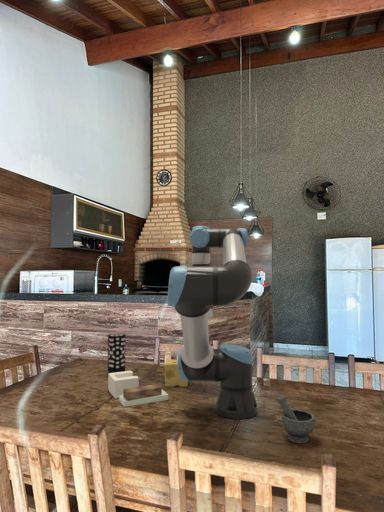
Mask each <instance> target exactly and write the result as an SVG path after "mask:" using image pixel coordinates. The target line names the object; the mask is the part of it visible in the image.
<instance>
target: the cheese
mask: <svg viewBox="0 0 384 512" xmlns="http://www.w3.org/2000/svg"><path fill="white" fill-rule="evenodd" d="M188 384H189V381H183V380H182V379H181V378H180V375H179V372H178V359H166V362H165V364H164V386H165V387H166V388H167V387H169V388H170V387H173V388H174V387H181V388H183V387H185V388H188V386H189V385H188Z"/></svg>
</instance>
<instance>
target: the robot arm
mask: <svg viewBox="0 0 384 512" xmlns="http://www.w3.org/2000/svg"><path fill="white" fill-rule="evenodd" d="M248 240H249V236H248V230H247V228H245V227H244V228H243V227H229V228H227V227H225V228H221V227H220V228H219V227H218V228H216V227H215V228H211V227H209V226H207V225H196V226H193V227H192V228H191V232H190V234H189V242H190V244H191V263H192V265H190V266H189V265H186V264H185V265H184V264H183V265H180V266H179V265H178V266H174V267H172V268H171V270H170V271H169V279H168V286H167V287H168V289H167V306H169V307H174V310H175V311H176V313H177V314H178V315H179V316H180V322H181V330H182V339H183V346H182V348H180V349H179V351H178V353H177V360H178V372H179V375H180V378H181V379H182V380H183V381H188V383H194V382H195V383H197V382H198V383H203V382H204V383H206V382H207V383H208V382H209V383H211V382H212V383H220V384H219V385H220V386H219V388H220V389H219V392H218V395H217V399H216V402H215V412H216V413H217V415H219V416H221V417H224V418H227V419H231V420H232V419H233V420H243V419H250V418H253V417H255V416H256V415H257V414H258V408H259V407H258V402H257V399H256V397H255V394H254V391H253V362H254V361H253V354H252V351H251V350H250V349H249V348H247V347H244V346H242V345H237V344H230V343H226V344H225V343H223V344H221V345H219V348H213V347H212V345H211V344H210V338H209V318H213V317H214V316H213V315H214V314H213V313H214V311H213V310H214V309H213V307H224V306H229V305H232V304H234V303H237V302H238V301H239V300H240V299H241V298H243V297H244V296H245V295H246V294H247V292H248V290H249V289H250V287H251V285H252V279H253V272H252V269H251V267H250V265H249V264H248V263H247V257H246V252H245V248H247V246H248V244H249V243H248ZM216 248H217V249H221V248H222V265H211V264H210V263H211V249H216Z"/></svg>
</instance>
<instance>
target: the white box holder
mask: <svg viewBox="0 0 384 512" xmlns="http://www.w3.org/2000/svg"><path fill="white" fill-rule="evenodd" d="M107 379H108V380H107V381H108V382H107V388H108V389H107V390H108V391H109V393H110V394H111V396H112V397H113V398H114V399H119V396H120V395H123V389H128V388H134V387H140V385H139V384H140V383H139V379H140V378H139V376H138V375H134V372H133V371H132V370H125V371H123V372H115V373H108V372H107Z"/></svg>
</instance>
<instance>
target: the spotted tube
mask: <svg viewBox="0 0 384 512" xmlns="http://www.w3.org/2000/svg"><path fill="white" fill-rule="evenodd" d="M123 371H126V334H125V333H121V332H120V333H119V332H118V333H109V334H107V374H108V373H115V372H123Z"/></svg>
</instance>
